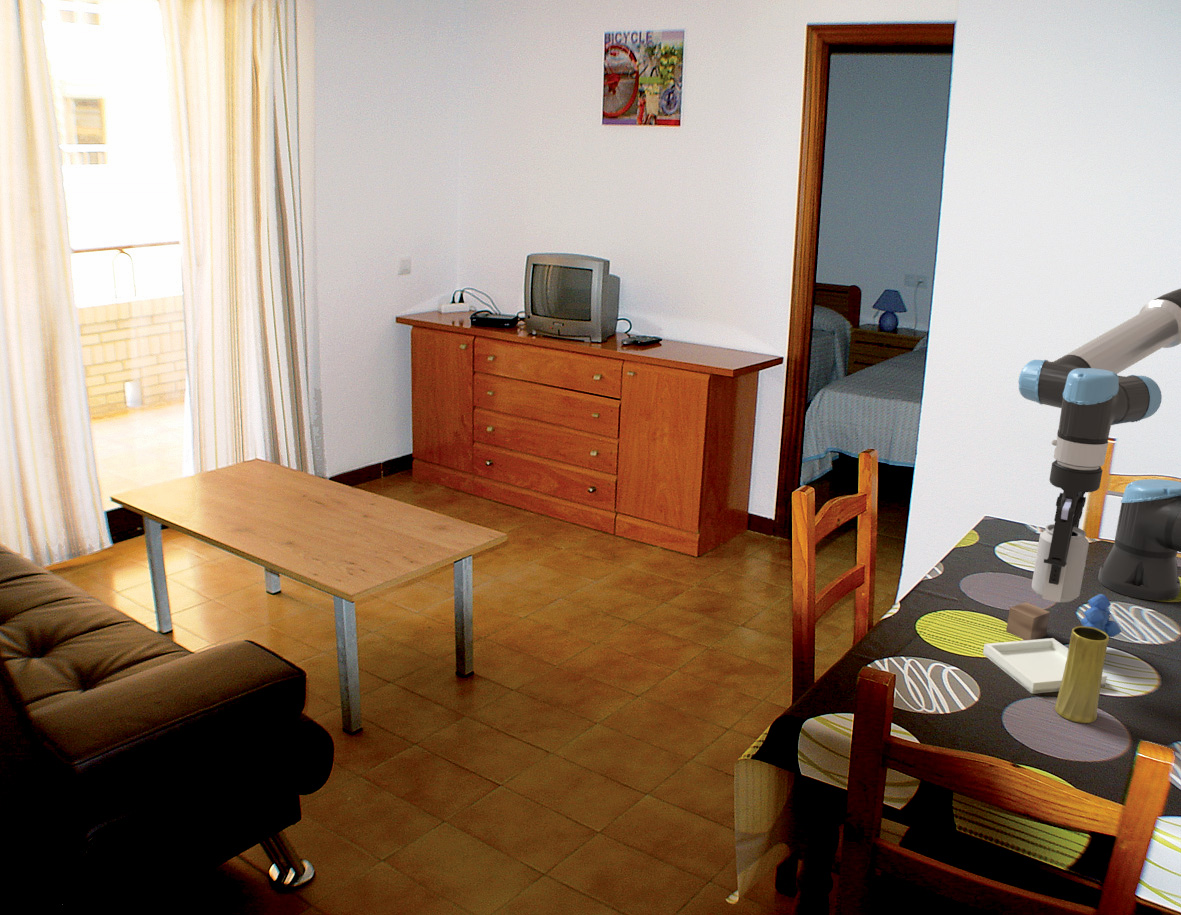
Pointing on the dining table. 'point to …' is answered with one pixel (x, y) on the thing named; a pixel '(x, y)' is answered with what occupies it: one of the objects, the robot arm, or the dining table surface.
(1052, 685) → the tray
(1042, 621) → the walnut block
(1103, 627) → the grapes
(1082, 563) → the can
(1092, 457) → the robot arm
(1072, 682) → the vase
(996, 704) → the dining table surface
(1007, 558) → the dining table surface
